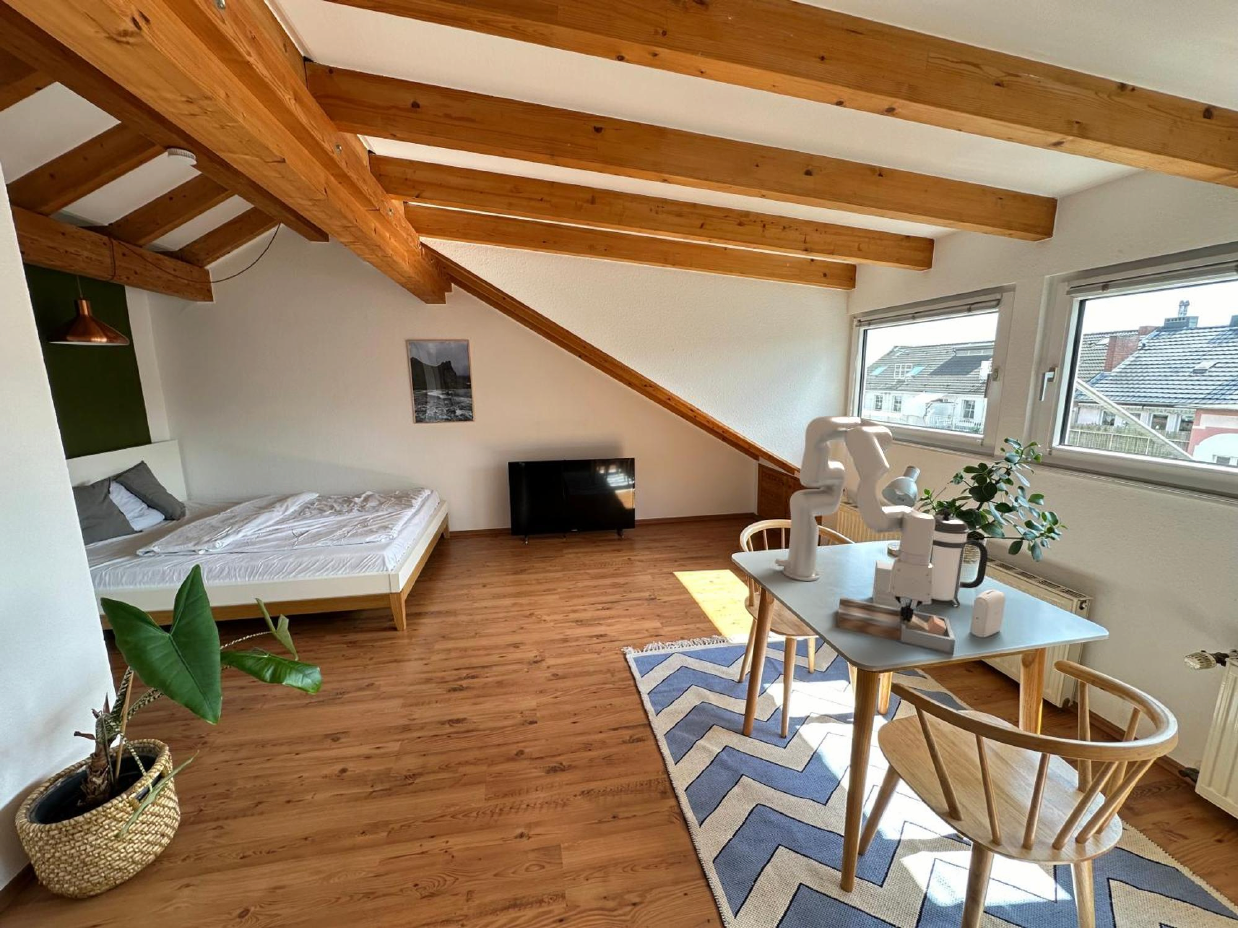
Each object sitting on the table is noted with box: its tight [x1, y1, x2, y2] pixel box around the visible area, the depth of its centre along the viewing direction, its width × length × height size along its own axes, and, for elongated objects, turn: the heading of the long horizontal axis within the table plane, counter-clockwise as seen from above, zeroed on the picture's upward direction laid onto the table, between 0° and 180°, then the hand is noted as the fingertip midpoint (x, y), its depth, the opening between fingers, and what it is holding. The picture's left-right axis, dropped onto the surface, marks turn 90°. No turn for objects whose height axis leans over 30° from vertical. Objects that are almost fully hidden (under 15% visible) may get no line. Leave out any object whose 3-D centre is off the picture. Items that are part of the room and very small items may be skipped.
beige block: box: [905, 615, 929, 633], centre depth 136 cm, size 4×4×3 cm
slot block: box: [836, 596, 902, 642], centre depth 141 cm, size 16×12×4 cm
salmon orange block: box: [927, 614, 946, 636], centre depth 134 cm, size 4×4×3 cm
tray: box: [899, 607, 956, 656], centre depth 135 cm, size 12×14×4 cm
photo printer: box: [969, 589, 1006, 638], centre depth 138 cm, size 10×4×12 cm, turn 118°
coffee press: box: [930, 509, 989, 608], centre depth 158 cm, size 17×16×30 cm
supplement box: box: [871, 560, 901, 608], centre depth 155 cm, size 7×7×13 cm
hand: (905, 619), depth 137 cm, fingers closed
